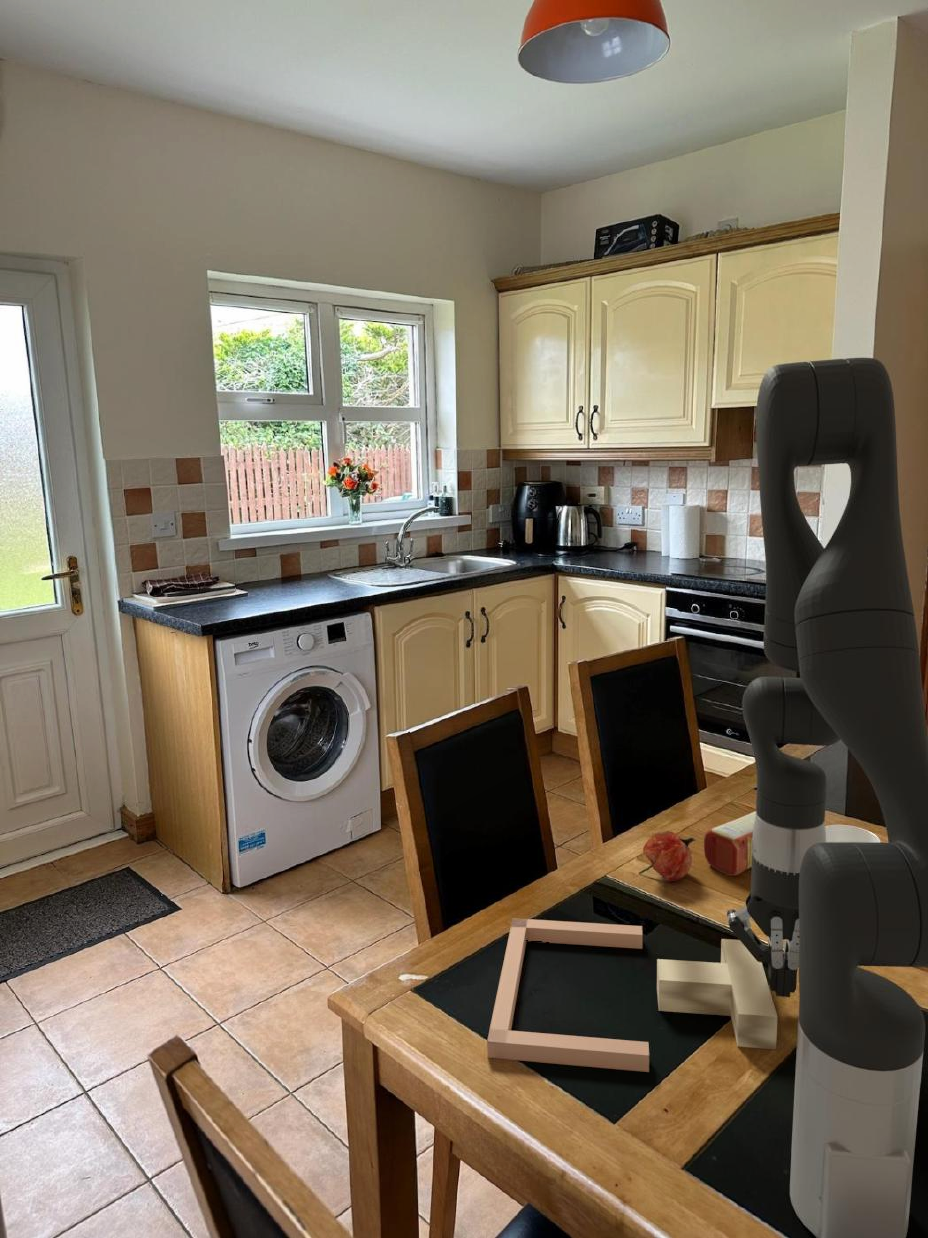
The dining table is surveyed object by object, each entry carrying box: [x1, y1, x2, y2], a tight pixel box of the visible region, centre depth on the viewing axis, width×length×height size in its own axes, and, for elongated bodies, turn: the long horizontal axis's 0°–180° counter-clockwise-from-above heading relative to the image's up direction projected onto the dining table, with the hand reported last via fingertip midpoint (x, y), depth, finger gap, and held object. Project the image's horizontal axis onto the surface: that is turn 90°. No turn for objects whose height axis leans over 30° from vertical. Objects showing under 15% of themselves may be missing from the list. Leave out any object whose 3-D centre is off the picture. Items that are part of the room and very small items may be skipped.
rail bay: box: [486, 917, 650, 1073], centre depth 102 cm, size 24×17×2 cm
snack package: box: [703, 810, 756, 876], centre depth 134 cm, size 21×7×7 cm, turn 125°
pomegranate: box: [638, 830, 696, 883], centre depth 127 cm, size 7×7×10 cm
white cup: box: [825, 824, 882, 842], centre depth 118 cm, size 8×8×10 cm
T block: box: [656, 938, 778, 1050], centre depth 99 cm, size 12×14×4 cm
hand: (781, 992), depth 98 cm, fingers closed
